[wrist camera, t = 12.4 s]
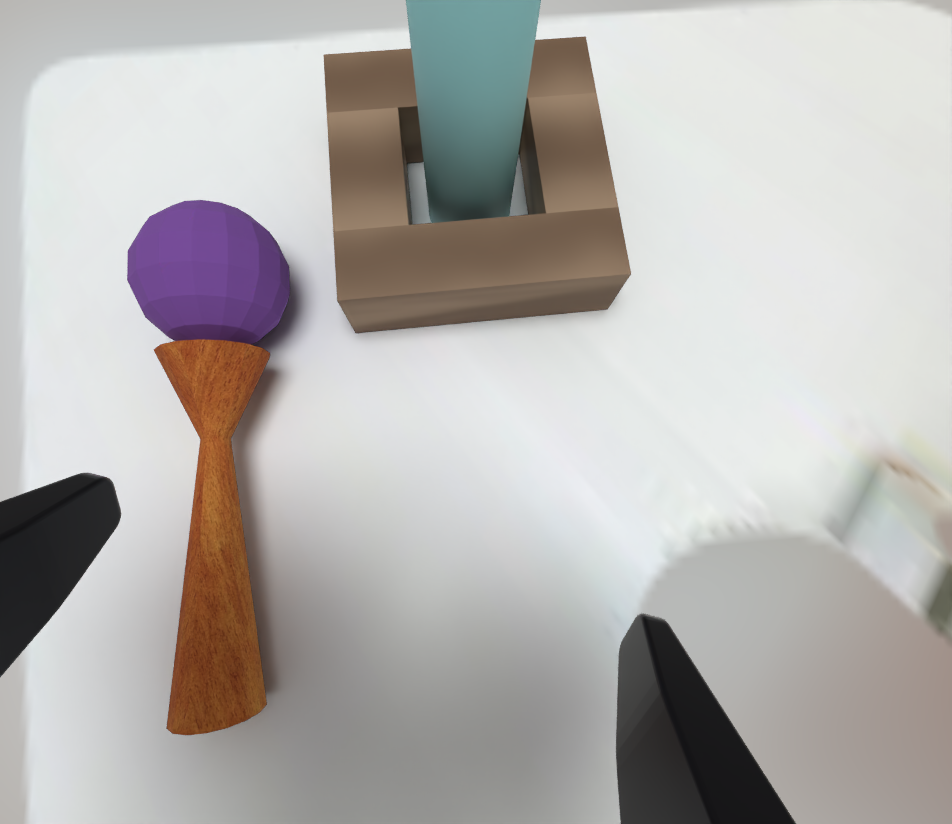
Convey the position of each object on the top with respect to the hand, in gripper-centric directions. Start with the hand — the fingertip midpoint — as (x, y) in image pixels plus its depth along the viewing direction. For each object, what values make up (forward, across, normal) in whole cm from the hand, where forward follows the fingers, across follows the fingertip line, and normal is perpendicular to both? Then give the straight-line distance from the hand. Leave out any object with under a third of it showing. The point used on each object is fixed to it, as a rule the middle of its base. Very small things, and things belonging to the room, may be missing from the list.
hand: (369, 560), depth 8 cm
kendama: (+11, +9, +9) cm, 17 cm away
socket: (+21, +2, -2) cm, 21 cm away
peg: (+21, +2, -2) cm, 21 cm away
